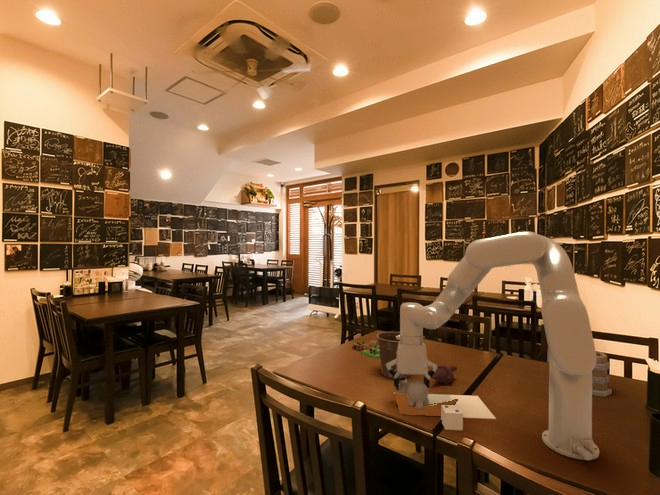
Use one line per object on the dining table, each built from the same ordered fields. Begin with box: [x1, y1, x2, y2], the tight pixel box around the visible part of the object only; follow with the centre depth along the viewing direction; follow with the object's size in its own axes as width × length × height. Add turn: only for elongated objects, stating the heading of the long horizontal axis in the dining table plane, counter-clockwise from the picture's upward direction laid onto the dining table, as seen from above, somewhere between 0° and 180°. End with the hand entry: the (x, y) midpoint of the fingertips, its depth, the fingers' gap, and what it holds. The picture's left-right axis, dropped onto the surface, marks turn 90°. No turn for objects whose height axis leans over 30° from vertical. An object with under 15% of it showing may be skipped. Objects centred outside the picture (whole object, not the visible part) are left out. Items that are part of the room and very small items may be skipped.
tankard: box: [547, 349, 613, 398], centre depth 128 cm, size 20×13×15 cm, turn 74°
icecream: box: [430, 365, 457, 385], centre depth 133 cm, size 7×7×15 cm
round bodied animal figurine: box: [395, 378, 429, 410], centre depth 115 cm, size 7×12×8 cm, turn 41°
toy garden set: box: [351, 340, 380, 360], centre depth 175 cm, size 23×19×5 cm
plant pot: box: [376, 331, 411, 380], centre depth 142 cm, size 16×16×16 cm
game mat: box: [393, 392, 497, 420], centre depth 114 cm, size 16×30×1 cm, turn 86°
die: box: [440, 405, 464, 431], centre depth 101 cm, size 5×5×5 cm
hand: (411, 389), depth 115 cm, fingers open, 9 cm apart
